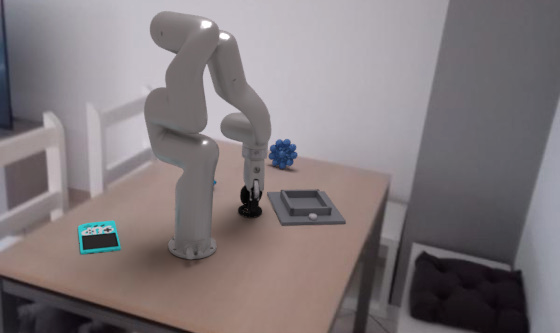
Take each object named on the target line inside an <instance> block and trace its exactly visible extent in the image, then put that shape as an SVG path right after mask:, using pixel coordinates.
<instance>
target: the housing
mask: <svg viewBox="0 0 560 333" xmlns="http://www.w3.org/2000/svg"><path fill="white" fill-rule="evenodd" d="M266 196H267V197H268V200H269V201H270V203H271V206H272V208H273V210H274V212H275V214H276V216H277V218H278V221H279V222H280V225H281V226H312V225H316V226H317V225H345V224H346V222H347V221H346V219H345V217H344V216H343V214H342V213H341V212H340V211H339V209H338V208H337V207H336V205H335V203H333V201H332V200H331V199H330V197H329V195H328V194H327V193H326V191H325V190H320V189H318V188H317V189H314V188H313V189H310V188H309V189H297V188H296V189H280V191H266Z"/></svg>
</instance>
